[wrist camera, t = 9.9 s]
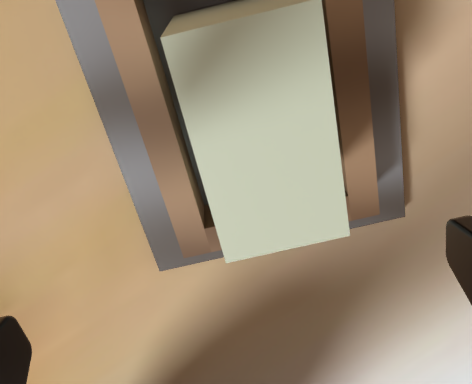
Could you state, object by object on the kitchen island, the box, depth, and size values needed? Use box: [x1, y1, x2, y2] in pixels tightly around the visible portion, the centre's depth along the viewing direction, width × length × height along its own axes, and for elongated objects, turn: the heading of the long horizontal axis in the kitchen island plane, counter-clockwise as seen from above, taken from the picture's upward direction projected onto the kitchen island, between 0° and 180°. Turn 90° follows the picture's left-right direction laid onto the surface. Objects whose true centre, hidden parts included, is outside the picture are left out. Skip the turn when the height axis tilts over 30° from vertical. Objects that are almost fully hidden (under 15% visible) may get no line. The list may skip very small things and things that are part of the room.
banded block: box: [160, 0, 350, 263], centre depth 15 cm, size 4×7×6 cm, turn 13°
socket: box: [56, 0, 405, 271], centre depth 17 cm, size 15×12×3 cm
